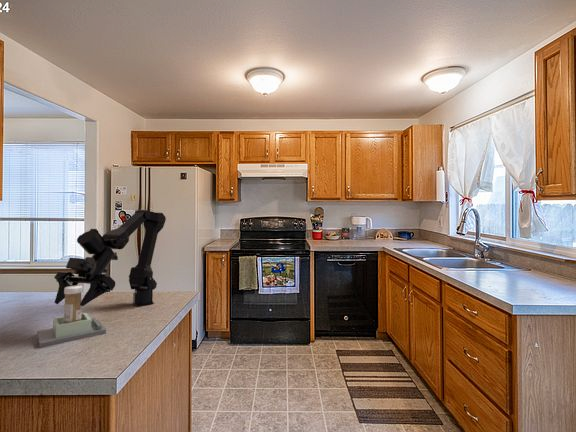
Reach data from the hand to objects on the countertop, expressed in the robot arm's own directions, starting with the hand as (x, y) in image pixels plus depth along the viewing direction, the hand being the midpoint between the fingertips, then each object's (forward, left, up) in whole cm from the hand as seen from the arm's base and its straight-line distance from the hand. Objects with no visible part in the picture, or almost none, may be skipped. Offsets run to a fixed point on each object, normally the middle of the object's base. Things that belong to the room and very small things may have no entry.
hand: (68, 304), depth 92 cm
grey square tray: (-1, -1, -10) cm, 10 cm away
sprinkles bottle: (-1, -1, -9) cm, 9 cm away
